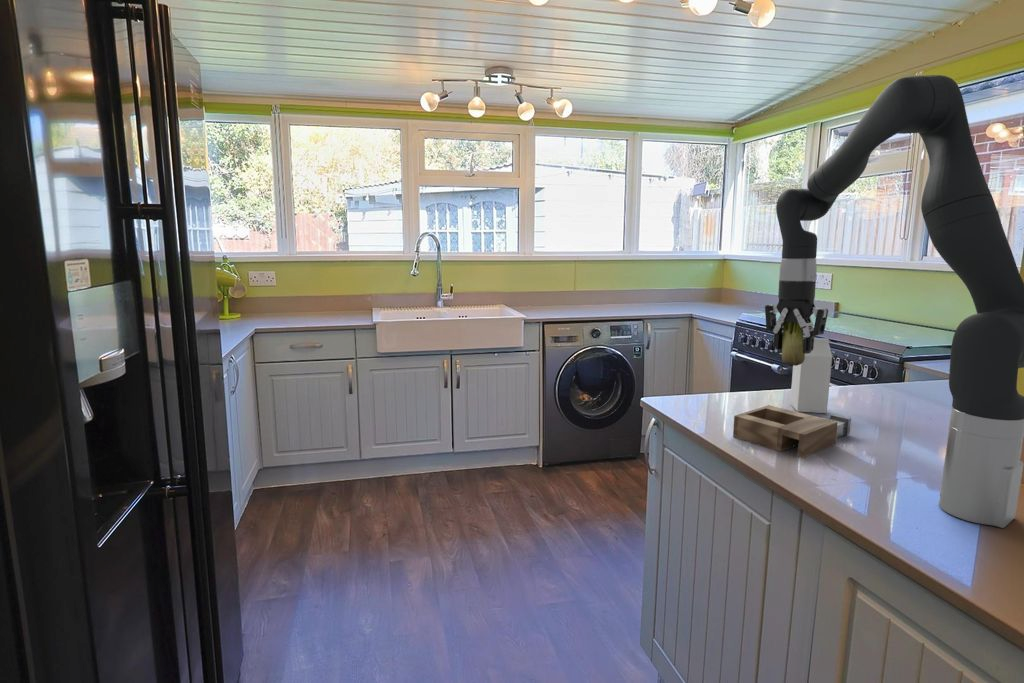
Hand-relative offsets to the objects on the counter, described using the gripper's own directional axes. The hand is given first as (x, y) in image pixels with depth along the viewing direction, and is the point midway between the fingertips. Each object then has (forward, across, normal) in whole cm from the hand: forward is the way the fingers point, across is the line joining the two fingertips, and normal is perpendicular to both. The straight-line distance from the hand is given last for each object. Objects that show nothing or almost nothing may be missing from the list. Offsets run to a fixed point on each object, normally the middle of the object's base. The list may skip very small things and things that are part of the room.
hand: (792, 350), depth 133 cm
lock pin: (+19, +9, 0) cm, 21 cm away
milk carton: (+19, -6, +20) cm, 28 cm away
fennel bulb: (+3, 0, 0) cm, 3 cm away
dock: (+19, +4, -8) cm, 21 cm away
